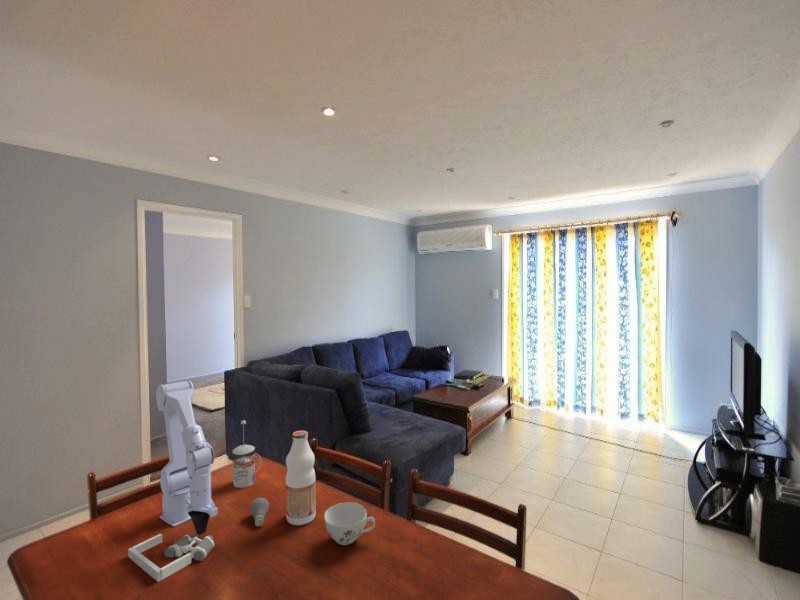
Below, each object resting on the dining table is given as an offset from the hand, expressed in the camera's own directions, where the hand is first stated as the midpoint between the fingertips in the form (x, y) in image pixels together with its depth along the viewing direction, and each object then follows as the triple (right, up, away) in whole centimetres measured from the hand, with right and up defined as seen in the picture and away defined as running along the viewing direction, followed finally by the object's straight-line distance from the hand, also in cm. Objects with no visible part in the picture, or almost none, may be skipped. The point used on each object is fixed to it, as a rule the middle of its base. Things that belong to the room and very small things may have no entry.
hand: (201, 533), depth 118 cm
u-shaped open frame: (-7, -2, -10) cm, 12 cm away
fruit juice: (+27, -1, +10) cm, 29 cm away
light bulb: (+16, 0, +5) cm, 16 cm away
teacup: (+45, -1, -1) cm, 45 cm away
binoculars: (0, -2, -6) cm, 6 cm away
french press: (+1, -2, +33) cm, 33 cm away
